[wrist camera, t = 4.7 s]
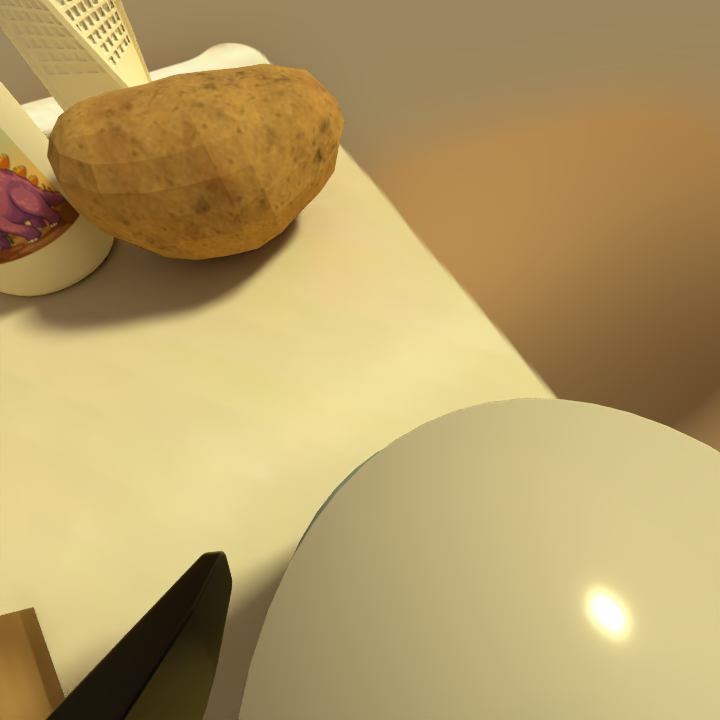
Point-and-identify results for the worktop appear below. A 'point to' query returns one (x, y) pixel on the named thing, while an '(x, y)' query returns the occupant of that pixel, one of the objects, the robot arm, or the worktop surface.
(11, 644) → the caddy
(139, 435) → the worktop surface
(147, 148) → the potato
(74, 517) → the worktop surface
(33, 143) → the milk bottle
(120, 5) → the skyscraper
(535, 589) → the salt shaker
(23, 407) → the worktop surface
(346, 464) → the worktop surface
